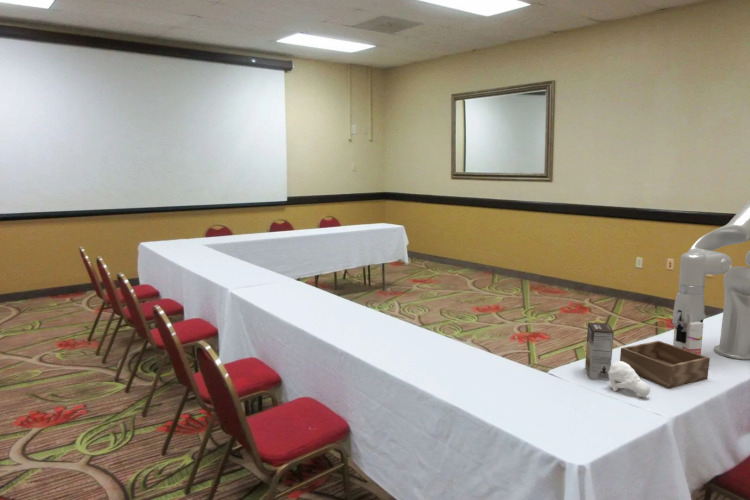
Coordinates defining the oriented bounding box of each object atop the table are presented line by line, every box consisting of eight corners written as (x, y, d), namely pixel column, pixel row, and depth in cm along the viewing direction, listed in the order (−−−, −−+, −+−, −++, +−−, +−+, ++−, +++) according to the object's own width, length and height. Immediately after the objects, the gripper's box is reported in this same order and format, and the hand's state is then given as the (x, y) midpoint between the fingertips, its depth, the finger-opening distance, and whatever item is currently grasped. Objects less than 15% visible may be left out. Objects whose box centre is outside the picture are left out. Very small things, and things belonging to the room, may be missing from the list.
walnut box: (656, 360, 185) (658, 340, 184) (707, 379, 169) (709, 358, 168) (619, 368, 178) (620, 347, 177) (668, 388, 162) (670, 366, 161)
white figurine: (619, 356, 164) (658, 372, 155) (614, 382, 166) (652, 399, 157) (607, 361, 160) (647, 377, 151) (603, 386, 162) (641, 404, 153)
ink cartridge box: (702, 356, 181) (705, 314, 178) (688, 357, 180) (691, 315, 178) (685, 347, 189) (688, 307, 187) (672, 348, 189) (674, 308, 186)
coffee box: (584, 368, 178) (587, 321, 175) (604, 369, 176) (608, 323, 174) (589, 379, 169) (592, 330, 166) (610, 381, 167) (614, 331, 165)
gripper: (697, 283, 188) (694, 332, 191) (663, 290, 181) (660, 341, 184) (719, 288, 181) (714, 339, 184) (684, 295, 174) (680, 347, 177)
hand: (687, 339), depth 184 cm, fingers closed on ink cartridge box, 6 cm apart
